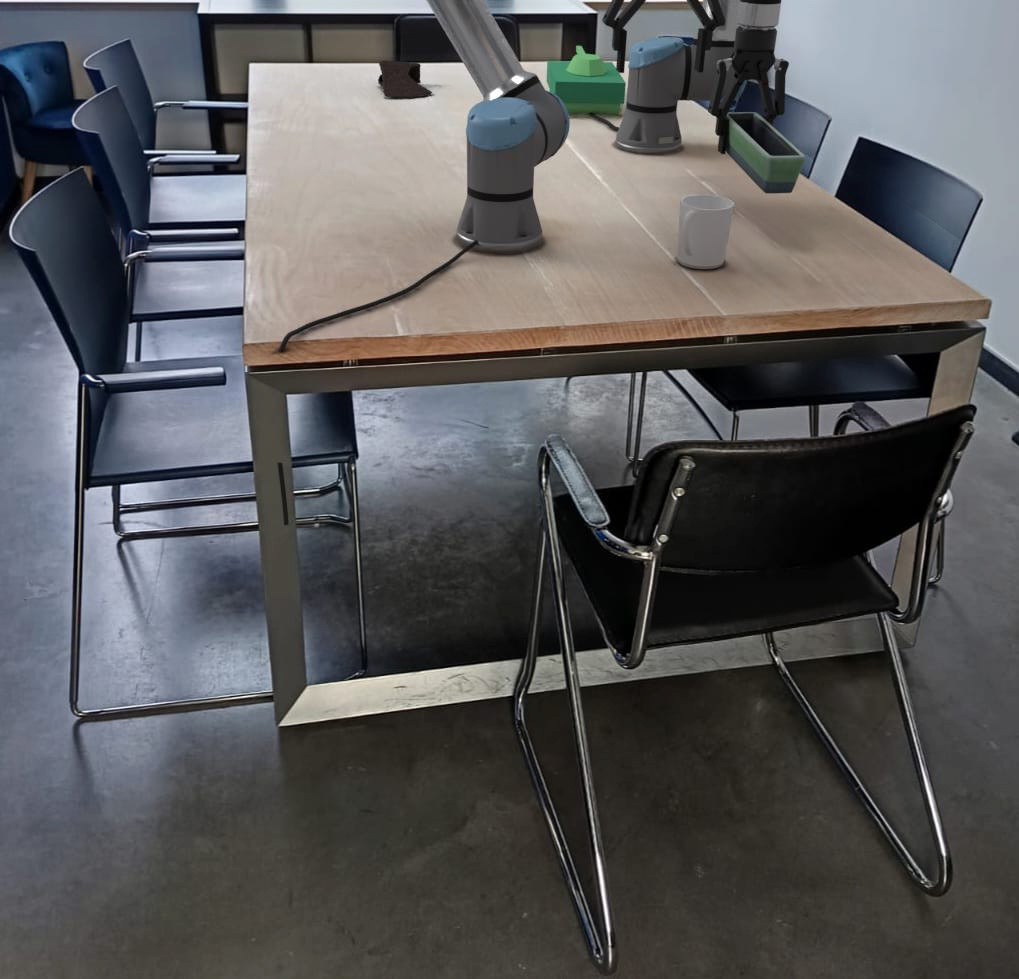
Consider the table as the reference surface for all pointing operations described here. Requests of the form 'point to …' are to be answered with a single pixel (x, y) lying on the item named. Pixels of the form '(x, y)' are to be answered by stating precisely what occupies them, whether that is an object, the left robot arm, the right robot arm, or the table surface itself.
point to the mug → (703, 230)
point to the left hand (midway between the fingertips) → (659, 71)
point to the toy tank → (587, 84)
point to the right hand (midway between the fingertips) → (740, 151)
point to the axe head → (401, 79)
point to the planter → (763, 152)
